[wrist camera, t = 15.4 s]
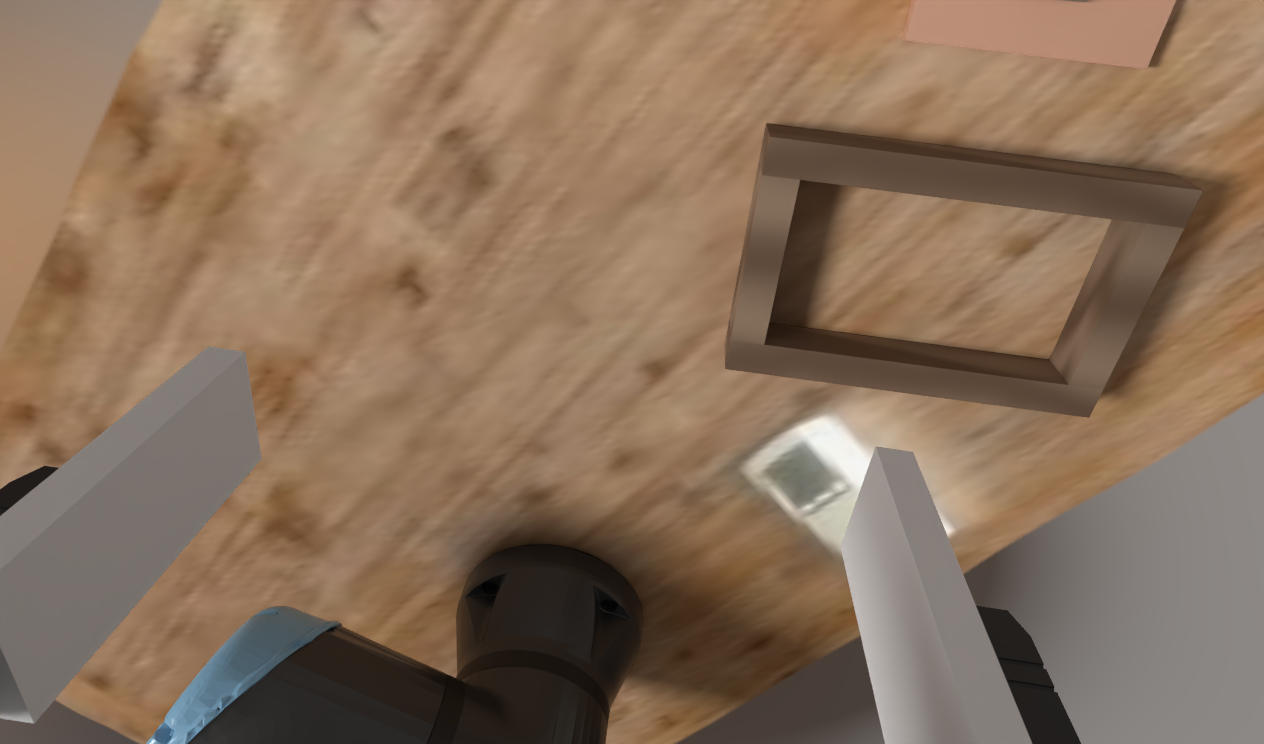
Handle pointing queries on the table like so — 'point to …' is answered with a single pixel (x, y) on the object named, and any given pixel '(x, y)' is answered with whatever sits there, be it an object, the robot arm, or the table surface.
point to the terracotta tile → (1045, 27)
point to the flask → (1075, 0)
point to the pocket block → (1132, 198)
